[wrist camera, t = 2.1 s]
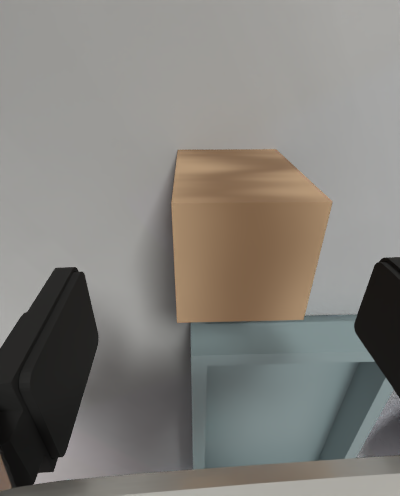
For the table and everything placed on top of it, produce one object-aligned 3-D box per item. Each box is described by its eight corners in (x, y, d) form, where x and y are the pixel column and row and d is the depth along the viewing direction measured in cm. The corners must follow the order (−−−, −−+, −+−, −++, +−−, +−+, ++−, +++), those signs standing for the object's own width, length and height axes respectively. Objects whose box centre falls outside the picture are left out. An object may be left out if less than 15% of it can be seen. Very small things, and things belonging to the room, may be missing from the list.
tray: (386, 313, 22) (415, 350, 19) (321, 463, 33) (333, 499, 30) (190, 318, 21) (190, 355, 18) (192, 468, 32) (193, 505, 30)
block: (276, 149, 15) (332, 201, 9) (264, 235, 18) (303, 319, 12) (178, 149, 15) (171, 203, 9) (180, 236, 18) (176, 322, 12)
